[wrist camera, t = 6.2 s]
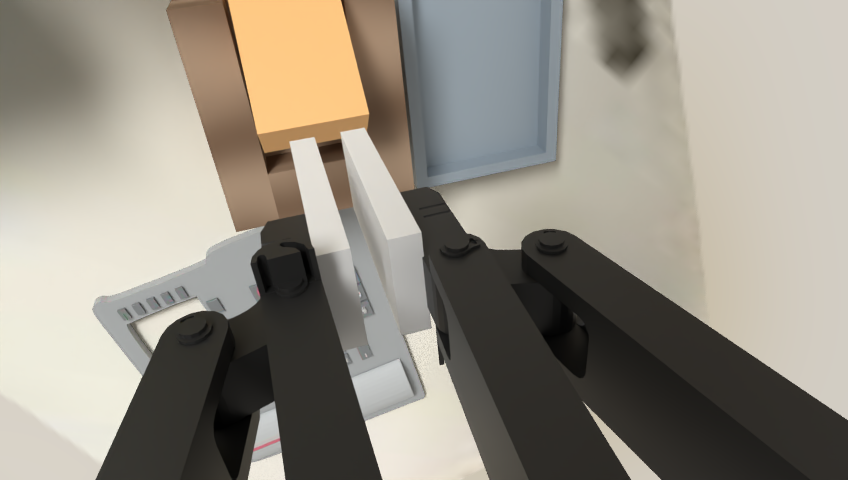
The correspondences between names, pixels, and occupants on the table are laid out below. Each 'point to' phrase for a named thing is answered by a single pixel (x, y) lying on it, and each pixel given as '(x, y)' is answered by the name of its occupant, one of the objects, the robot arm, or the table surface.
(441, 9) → the slate tray
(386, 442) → the table surface
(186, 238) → the table surface
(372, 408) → the office telephone
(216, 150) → the pocket block
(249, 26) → the orange bar
